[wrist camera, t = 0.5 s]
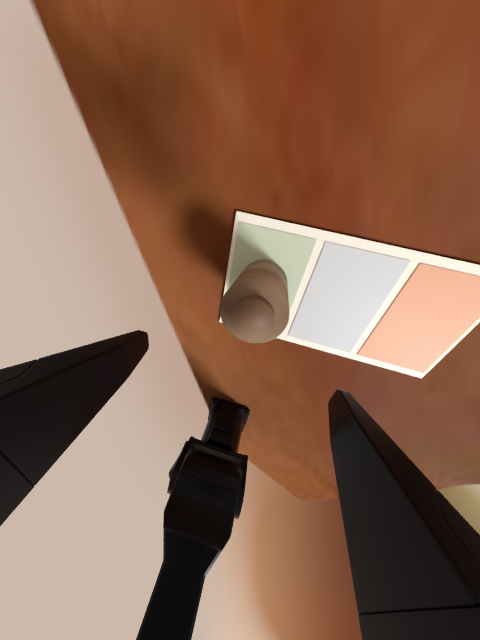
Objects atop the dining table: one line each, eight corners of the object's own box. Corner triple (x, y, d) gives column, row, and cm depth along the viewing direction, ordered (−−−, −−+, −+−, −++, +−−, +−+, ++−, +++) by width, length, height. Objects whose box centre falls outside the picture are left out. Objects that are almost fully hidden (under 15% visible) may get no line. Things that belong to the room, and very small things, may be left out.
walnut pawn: (279, 311, 20) (276, 359, 13) (235, 299, 20) (211, 340, 14) (294, 266, 17) (301, 297, 11) (244, 254, 18) (220, 276, 11)
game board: (419, 376, 21) (422, 378, 20) (220, 320, 23) (219, 322, 22) (523, 274, 15) (528, 276, 14) (237, 211, 17) (236, 210, 16)
